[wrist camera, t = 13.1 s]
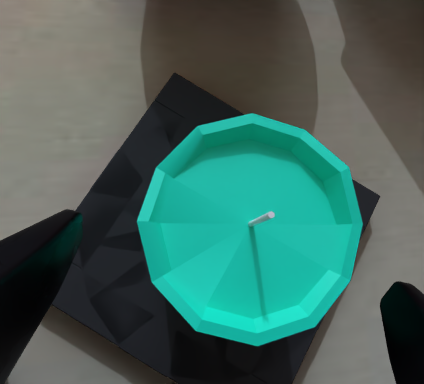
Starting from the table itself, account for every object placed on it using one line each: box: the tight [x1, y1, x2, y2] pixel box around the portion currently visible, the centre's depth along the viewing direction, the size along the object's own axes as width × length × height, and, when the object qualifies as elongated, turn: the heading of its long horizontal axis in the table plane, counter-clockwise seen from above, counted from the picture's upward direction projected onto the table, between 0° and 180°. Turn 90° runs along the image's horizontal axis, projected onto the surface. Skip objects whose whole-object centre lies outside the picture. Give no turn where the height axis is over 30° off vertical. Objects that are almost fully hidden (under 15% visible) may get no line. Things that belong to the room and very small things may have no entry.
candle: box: [137, 113, 363, 346], centre depth 13 cm, size 6×6×12 cm
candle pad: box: [52, 73, 380, 384], centre depth 18 cm, size 14×14×2 cm
